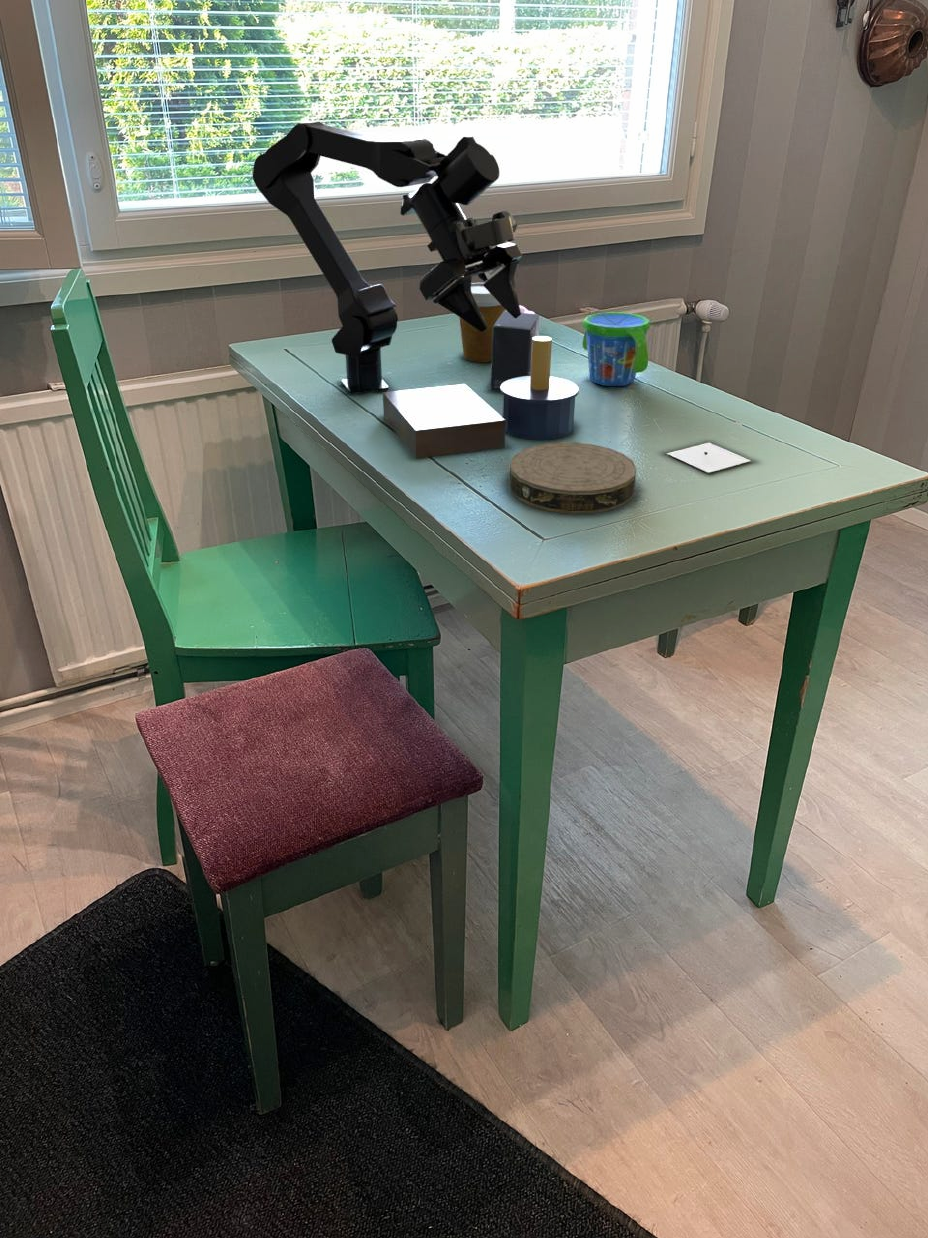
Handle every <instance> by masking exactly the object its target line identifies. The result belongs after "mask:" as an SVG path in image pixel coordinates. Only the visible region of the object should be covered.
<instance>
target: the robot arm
mask: <svg viewBox="0 0 928 1238" xmlns="http://www.w3.org/2000/svg"><path fill="white" fill-rule="evenodd" d="M321 157H324V158H326V159H331V160H335V161H338V162H341V163H346V164H350V165H353V166H357V167H360V168H364V169H367V170H369V171H371V172H373V173H374V175H376V177H377V178H378V179H380V180H382V181H384V182H386V183H387V184H389V185H392V186H393V187H396V188H405V187H412V186H417V185H421V186H419V187H418V188H417V189H416V190H415V191H414V192H409V193H404V194H403V195H402V204H401V206H400V210H399V213H400V215H401V216H402V217H403V216H407V215H412V214H416V216H417V218H418V220H419V221H420V224H421V225H422V227H423V228H424V230H425V232H426V234H427V235H428V238H429V239H430V241H431V242H430V243H428V244H427V248H428V250H429V252H431V253H432V252H437V253H438V255H439V257H440V258H441V260H442V261H440V262H438V263H437V264H436V265H435V266H434V267H433V268H432V269H430V271H428V272H427V273H426V274H424V276H423V277H421V278H420V279H419V291H420V293H421V294H422V296H423V298H424V299H425V301H426V302H427V301H431V300H432V299H433V301H432V302H433V304H434V305H437V304H438V305H440V306H441V307H443V308H444V309H446V310H447V311H450V312H451V313H453V314H454V315H456V316H457V317H458V318H459V317H460V318H462V319H463V320H465V321H466V322H467V323H469V324H470V325H472V326H473V327H474V328H476V329H477V330H479V331H480V332H483V331H485V330H486V329H487V325H486V323H485V320H484V318H483V315H482V313H481V311H480V309H479V307H478V305H477V303H476V301H475V299H474V297H473V294H472V292H471V283H472V279H473V278H472V277H475V276H478V278H479V279H480V280H482V281H483V283H484V284H483V286H484V287H485V288H486V289H487V290H488V291H489V292H490V294H492V296H493V297H494V298H495V299H496V300H497V301H498V302H499V303H500V304H501V305H502V306H503V307H504V308H505V309H506V311H507V312H508V313H509V314H511V315H512V316H513V317H514V318H518V317H519V316H520V315H521V311H520V307H519V305H520V303H519V298H518V293H517V288H516V281H515V275H516V271H517V267H519V265H520V259H521V258H522V257H523V253H522V252H521V250H520V248H519V247H518V245H517V244H516V243H513V241H515V240H516V237H515V233H516V231H517V227H518V222H517V221H516V220H515V219H514V215H512V214H511V212H510V211H509V210H508V209H506V210H505V209H504V210H502V211H498V212H494V213H493V214H492V217H491V220H489V221H487V222H483V223H480V224H479V223H478V221H477V220H476V218H474V217H469V218H466V215H465V214H464V213H463V210H462V208H461V207H460V205H463V206H469V205H471V204H472V203H473V202H474V201H475V200H476V199H477V198H479V197H480V196H481V195H482V194H483V193H484V192H485V191H486V190H488V188H490V187H491V186H492V185H493V184H494V183H495V182H497V180H499V178H500V167H499V164H498V161H497V159H496V158H495V156H494V155H493V154H491V153H490V151H488V149H486V147H484V146H483V145H481V144H479V143H478V142H476V140H475V138H474V136H473V135H469V136H463V137H462V138H461V139H460V140H459V141H457V143H456V145H455V146H454V147H453V149H452V150H451V151H450V152H449V153H447V154H444V153H443V152H440V151H438V150H436V149H435V147H434V144H433V142H431V141H430V140H428V139H427V138H380V137H376V136H373V135H367V134H364V133H359V132H355V131H351V130H347V129H343V128H340V127H335V126H331V125H327V124H324V123H323V122H322V121H304V122H298V123H297V124H296V125H294V126H293V127H292V128H291V129H290V130H289V132H288V133H287V134H286V135H284V136H283V137H282V138H280V139H279V140H278V141H276V142H275V143H274V144H273V145H270V147H269V148H267V150H266V151H264V153H262V154H259V155H258V156H257V157H256V159H255V160H254V163H253V170H252V179H253V182H254V185H255V187H256V188H257V190H258V191H259V192H260V193H261V195H262V196H263V197H264V199H265V200H266V201H267V202H268V203H269V204H270V205H271V206H273V207H274V208H276V209H277V210H279V211H280V212H281V213H282V214H284V215H286V216H287V217H288V219H289V220H290V222H291V223H292V225H293V227H294V228H295V231H296V232H297V233H298V236H299V237H300V238H301V240H302V242H303V243H304V245H305V247H306V248H307V250H308V251H309V254H310V255H311V256H312V258H313V260H314V261H315V263H316V265H317V266H318V268H319V269H320V272H321V273H322V275H323V276H324V278H325V280H326V282H327V283H328V284H329V286H330V288H331V289H332V291H333V292H334V294H335V296H336V298H337V299H336V300H337V312H338V313H337V314H338V319H339V321H340V322H341V325H342V326H341V327H340V329H338V331H337V332H336V333H335V334H334V336H333V337H332V338H331V343H332V346H333V350H334V352H335V353H336V354H340V355H344V356H345V369H346V370H345V372H346V378H343V379H341V384H342V385H343V386H344V388H345V389H346V390H347V393H349V394H361V393H371V392H378V391H379V392H382V391H388V390H389V385H388V384H387V383H386V382H385V381H384V379H383V372H382V371H383V370H382V348H384V347H388V346H390V345H391V343H392V339H393V335H395V332H396V330H397V328H398V321H399V317H398V313H397V310H396V309H395V308H396V307H397V304H396V303H394V301H392V299H391V298H390V297H389V295H388V292H387V290H386V288H385V287H384V286H383V284H382V283H379V284H375V285H371V284H369V283H368V282H367V281H365V280H364V278H363V276H362V275H361V273H360V271H359V270H358V269H357V267H356V265H355V263H354V262H353V259H351V257H350V255H349V253H348V251H347V250H346V249H345V247H344V245H343V243H342V241H341V240H340V239H339V236H338V235H337V233H336V232H335V230H334V228H333V227H332V225H331V224H330V222H329V220H328V218H327V216H326V214H325V213H324V212H323V209H321V206H320V204H319V203H318V201H317V200H316V185H315V180H314V177H313V174H312V173H313V171H314V170H315V169H316V168H317V167H318V166H319V163H320V159H321ZM435 177H437V178H435ZM434 178H435V180H433V179H434ZM432 180H433V181H432ZM431 181H432V183H431ZM459 204H460V205H459Z"/></svg>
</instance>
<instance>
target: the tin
mask: <svg viewBox="0 0 928 1238" xmlns="http://www.w3.org/2000/svg"><path fill="white" fill-rule="evenodd" d="M502 398H503V400H502V401H503V402H502V403H503V404H502V417H503V418H504V419H505V420H506V428H505V433H507V434H509V435H511V436H513V437H516V438H520V439H526V440H534V441H535V440H536V441H546V440H555V439H560V438H561V439H562V438H563V437H567V436H568V435H570V434H571V433H572V432H573V428H574V422H575V409H576V397H575V398H573V399H571V400H568V401H564V402H558V403H547V404H538V403H527V402H521V401H516V400H513V399H510V398H508V397H506V396H504V395H503V397H502Z"/></svg>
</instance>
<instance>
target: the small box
mask: <svg viewBox="0 0 928 1238" xmlns="http://www.w3.org/2000/svg"><path fill="white" fill-rule="evenodd" d="M539 325H540V314H539V313H535V314H529V313H521V315H520V316H519V317H518V318H514V317H513V316H512V315H511V314H509V313H508V312H507V311H504V312H503V313H502V315H501V316H500V317H499V319H498V320H497V321H496V323H495V324H494V326H493V333H492V361H491V364H490V365H491V368H490V385H489V390H490V391H492V392H493V391H494V392H501V391H500V387H501V384H502V383H503V382H505V381H507V380H509V379H513V378H517V377H523V376H530V372H531V349H532V338H533V337H535V336H539V328H540V327H539Z"/></svg>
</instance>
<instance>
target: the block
mask: <svg viewBox="0 0 928 1238" xmlns="http://www.w3.org/2000/svg"><path fill="white" fill-rule="evenodd" d="M382 404H383V405H382V409H383V419H384V420H385V421H386V423H387V425H389V427H390V428H391V429H392V431H394V433H395V434H396V435H397V436H398V438H399V439H400V441H401V442H402V443H403V444H404V445H405V447H406V448H407V449H408V450H409V452H410V453H411V454H412V456H414V458H415V459H422V458H423V459H424V458H431V457H432V458H433V457H440V456H447V455H455V454H462V453H463V454H464V453H471V452H480V451H488V450H495V449H502V448H503V449H504V448H506V431H505V428H506V420H505V419H504V418H503V415H500V413H498V412H497V411H496V410H495V409H494V408H493V407H491V405H490V404H489V403H488V402H486V401H485V400H484V399H482V398H481V397H480V395H479V394H477V393H476V392H475V391H474V390H472V389H471V388H470V387H469V386H468V385H467V384H466V383H460V384H451V385H442V386H441V385H440V386H432V387H422V388H412V389H402V390H401V389H400V390H393V391H384V392H382Z"/></svg>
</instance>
